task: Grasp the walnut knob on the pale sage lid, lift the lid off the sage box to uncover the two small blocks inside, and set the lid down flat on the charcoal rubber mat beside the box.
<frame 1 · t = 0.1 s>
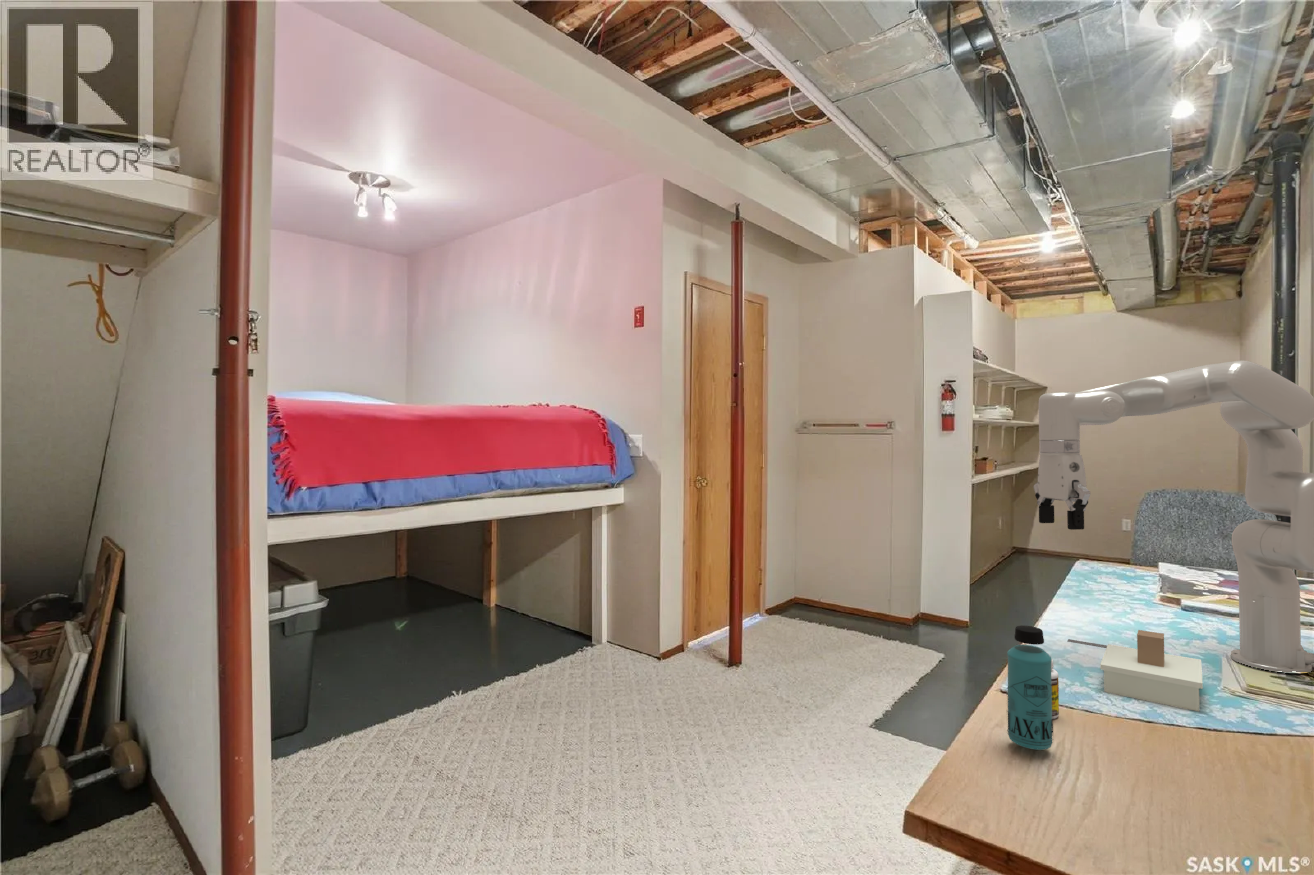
hand: (1060, 526, 135), 31 cm above the table, tool pointing down, fingers open, 9 cm apart
lid: (1151, 667, 121), point 5 cm above the table, touching box
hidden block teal: (1133, 680, 125), point 1 cm above the table, touching box
mat: (1104, 656, 140), on the table
beverage bottle: (1030, 751, 100), on the table
box: (1151, 692, 121), on the table
supplement bottle: (1041, 714, 113), on the table
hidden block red: (1171, 688, 121), point 1 cm above the table, touching box
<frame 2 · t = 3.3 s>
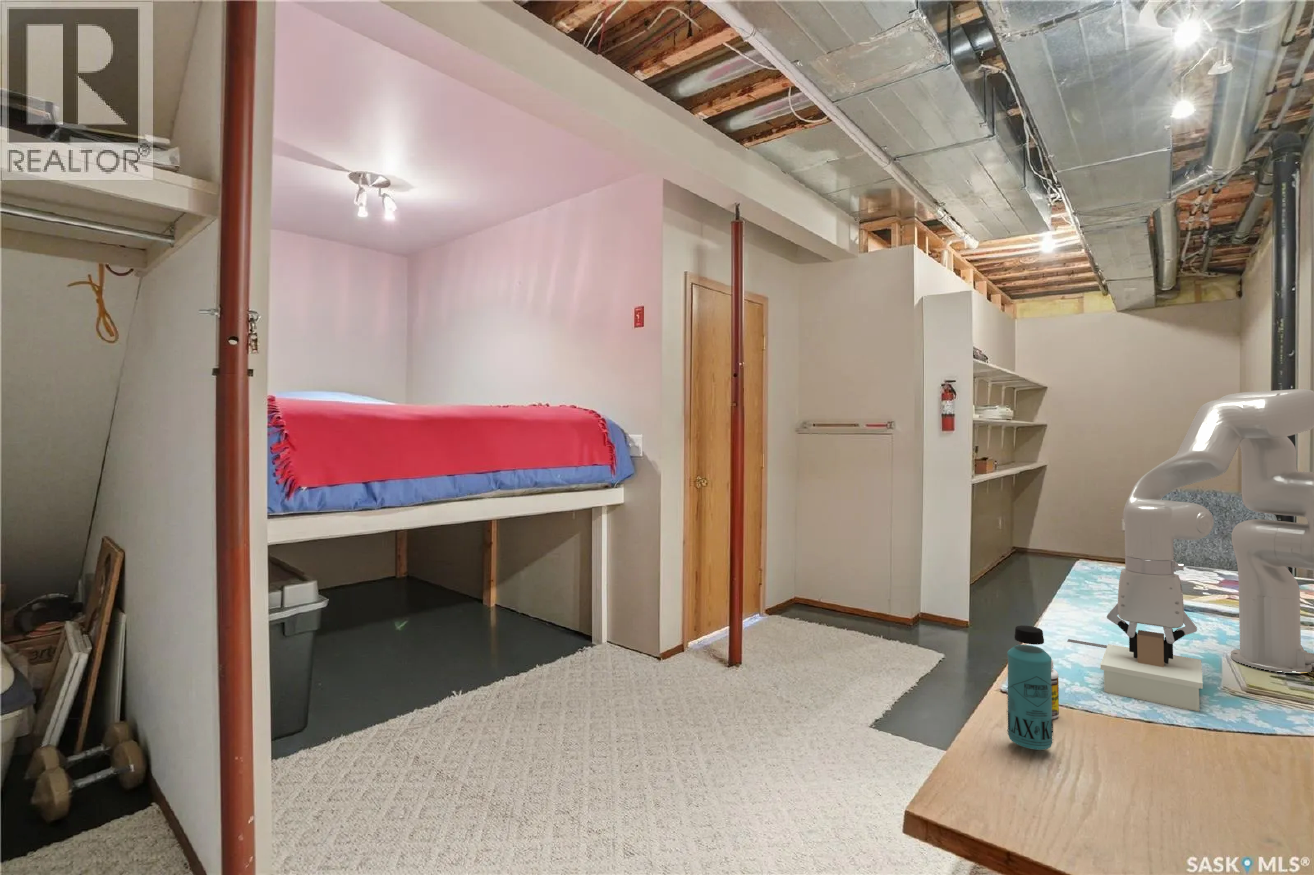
hand: (1151, 658, 121), 7 cm above the table, tool pointing down, fingers closed on lid, 4 cm apart
lid: (1151, 667, 121), point 5 cm above the table, touching box, gripper
everything else where it was.
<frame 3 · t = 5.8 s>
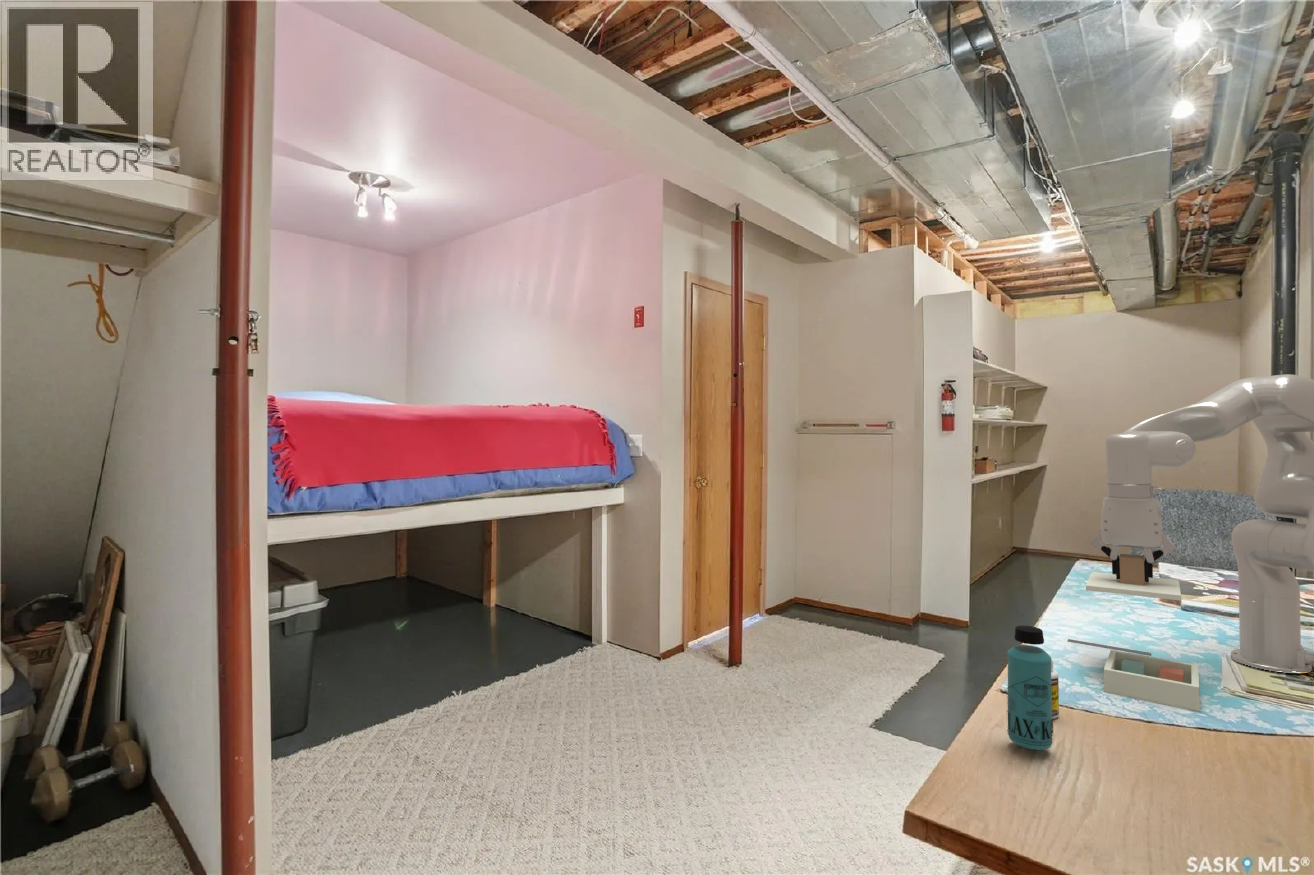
hand: (1132, 578, 128), 21 cm above the table, tool pointing down, fingers closed on lid, 4 cm apart
lid: (1132, 587, 128), point 19 cm above the table, touching gripper
everything else where it was.
when the fingers open (4 cm above the table, at t = 8.8 s): lid drops 1 cm, resting on mat.
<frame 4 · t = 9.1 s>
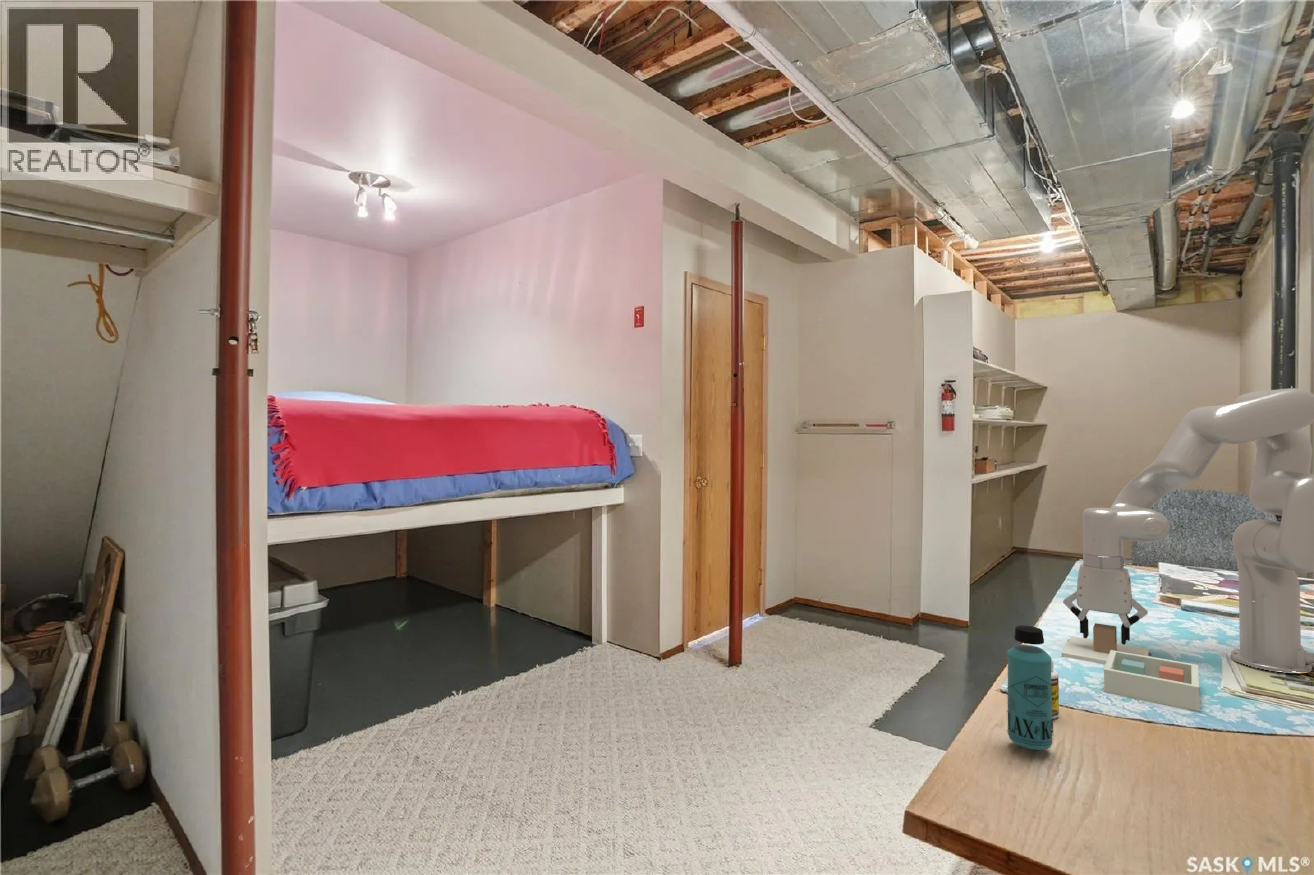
hand: (1104, 639, 140), 4 cm above the table, tool pointing down, fingers open, 6 cm apart
lid: (1105, 655, 140), resting on mat
everything else where it was.
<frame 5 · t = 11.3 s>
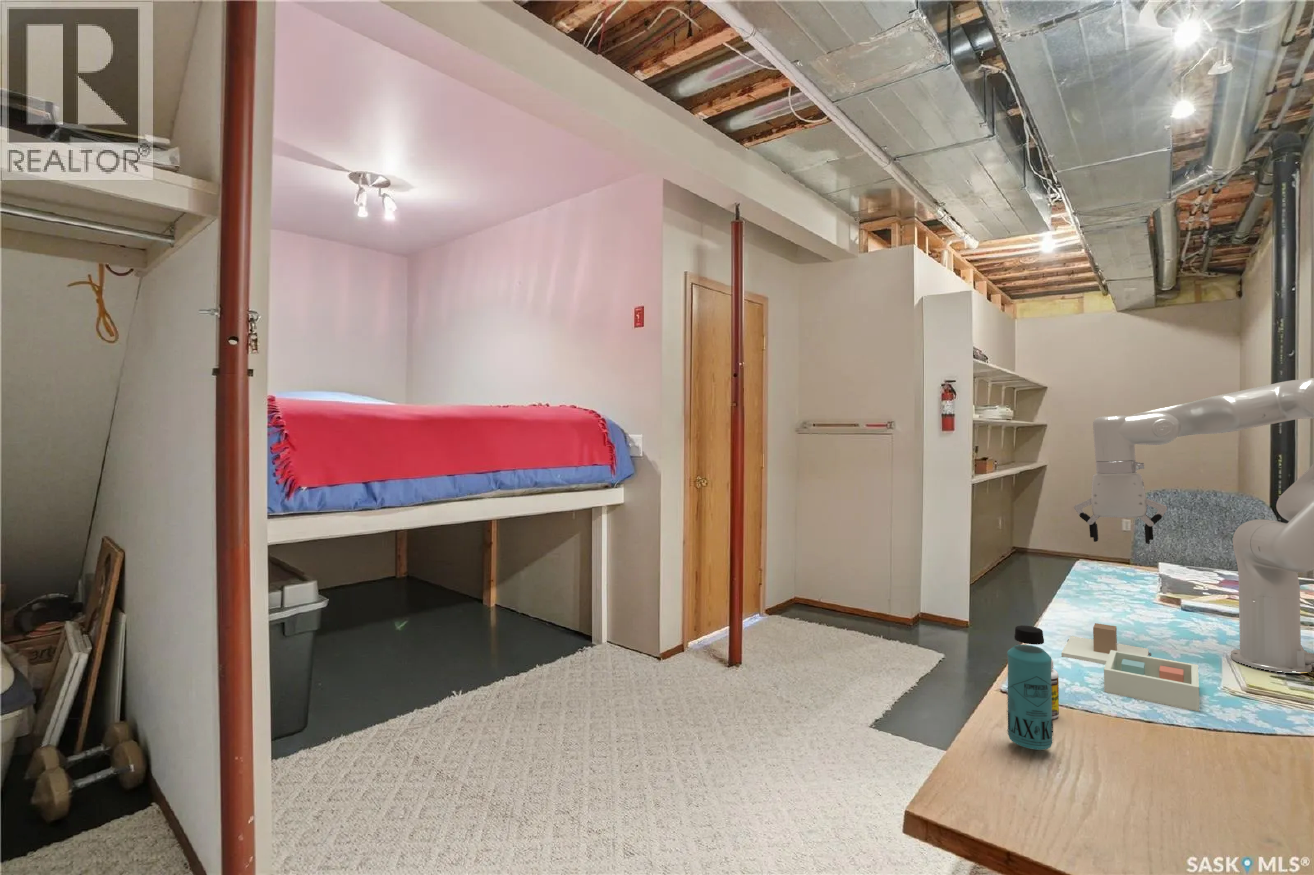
hand: (1121, 541, 142), 26 cm above the table, tool pointing down, fingers open, 9 cm apart
nothing on the table moved.
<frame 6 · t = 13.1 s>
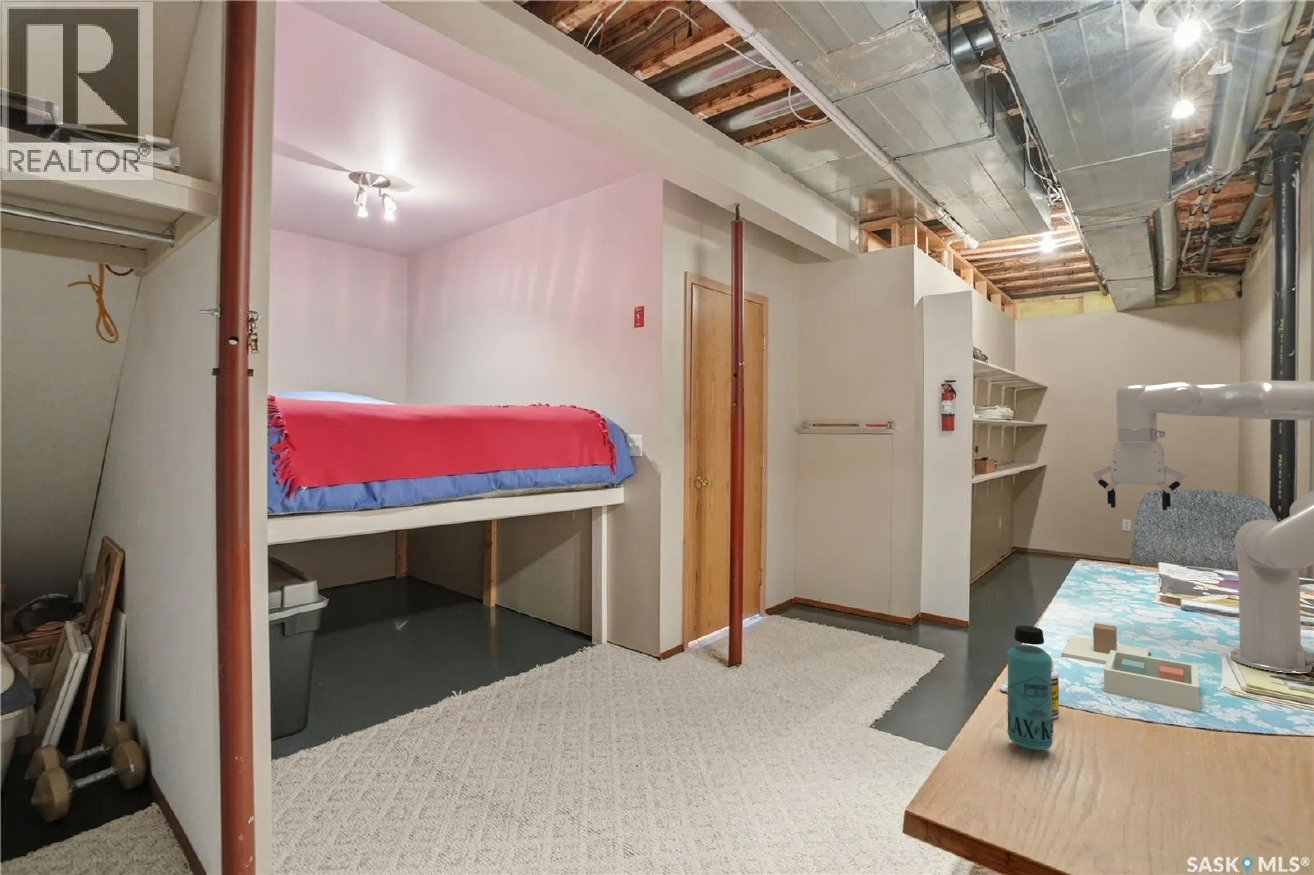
hand: (1138, 508, 146), 33 cm above the table, tool pointing down, fingers open, 9 cm apart
nothing on the table moved.
at the end: lid inside the target area (0.1 cm from its centre), resting on mat; lid touching mat; lid tilted 0° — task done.
